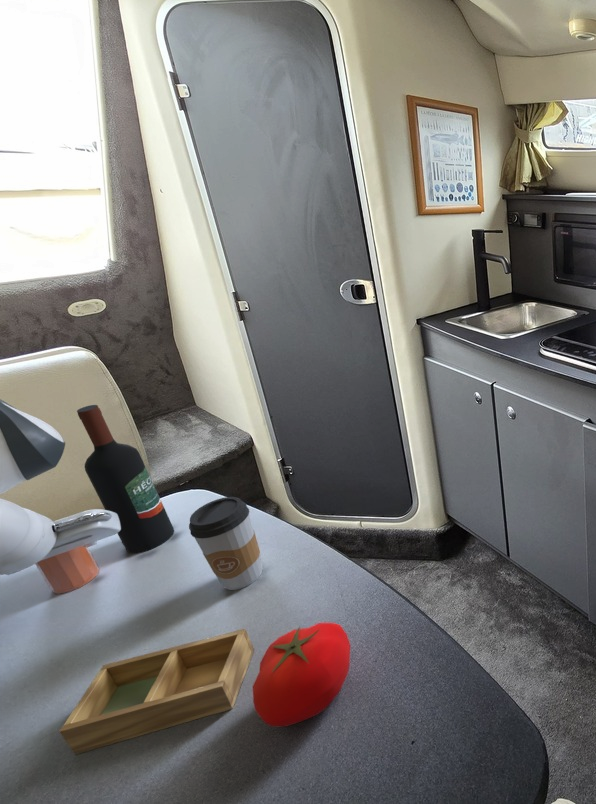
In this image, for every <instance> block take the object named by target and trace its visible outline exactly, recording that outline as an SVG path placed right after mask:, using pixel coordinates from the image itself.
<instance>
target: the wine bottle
mask: <svg viewBox="0 0 596 804" xmlns="http://www.w3.org/2000/svg"><path fill="white" fill-rule="evenodd" d="M76 413H77V416H78V418H79V420H80V421H81V424H82V425H83V427H84V429H85V431H86V433H87V435H88V437H89V439H90V441H91V443H92V445H93V451H92V452H91V453H90V455H89V456H88V457H87V458H86V460H85V463H84V471H85V472H86V475H87V477H88V479H89V481H90V483H91V485H92V486H93V489H94V490H95V493H96V494H97V497H98V498H99V500H100V502H101V505H102V506H103V509H104V510H108V511H112V512H114V513H116V514H117V515H118V517H119V521H120V526H121V530H120V531H119V532H118V533H117V534H116V535H117V536H118V537H119V540H120V541H121V544H122V545H123V548H124V549H125V551H126V552H127V553H129V554H140V553H144V552H147V551H150V550H152V549H155V548H157V547H159V546H161V545H163V544H164V543H166V542H167V541H168V540H170V539H171V537H172V536H173V535H174V533H175V528H174V526H173V524H172V522H171V520H170V518H169V515H168V513H167V511H166V509H165V507H164V504H163V502H162V500H161V497H160V496H159V493H158V491H157V489H156V487H155V485H154V482H153V480H152V478H151V476H150V474H149V471H148V469H147V466H146V465H145V463H144V461H143V458H142V455H141V454H140V451H139V450H138V449H137V448H136V447H134V446H132V445H130V444H127V443H120V442H117V441H116V440H115V439H114V436H113V435H112V433H111V431H110V428H109V427H108V424H107V422H106V420H105V418H104V416H103V412H102V410H101V408H100V407H99V405H98V404H91V405H86V406H83V407H80V408H78V409H77V410H76Z"/></svg>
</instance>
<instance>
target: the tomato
mask: <svg viewBox="0 0 596 804" xmlns="http://www.w3.org/2000/svg"><path fill="white" fill-rule="evenodd" d="M351 647H352V646H351V642H350V640H349V637H348V634H347V632H345V630H344V628H343V627H342V625H341V624H339V623H336V622H318V623H316V624H314V625H312V626H309V627H305V628H301V626H300V625H299V626H298V628H296V629H295V628H294V629H293V630H290V631H289V632H286V633H285V634H282V635H281V636H279V637H278V638H277V639H275V640H274V641H273V642H272V643H271V644H270V645H268V647H267V649H266V650H265V653H264V655H263V657H262V658H261V660H260V663H259V670H258V673H257V676H256V678H255V680H254V682H253V685H252V700H253V701H252V702H253V707H254V710H255V712H256V713H257V715H258V716H259V717H260V719H261V720H262V721H263V722H264V723H265V724H266V725H268V726H270V727H280V728H283V727H287V726H291V725H292V726H293V725H295V724H297V723H298V724H299V723H300V722H303V721H307V720H308V719H311V718H313V717H316V716H317V715H319V714H320V713H321V712H323V711H324V710H326V709H327V708H328V707H329V706H330V705H331V703H332V702H333V701H334V699H335V698H336V697H337V696H338V695H339V694H340V692H341V690H342V687H343V685H344V683H345V681H346V679H347V677H348V674H349V668H350V661H351V660H350V659H351V658H350V657H351Z"/></svg>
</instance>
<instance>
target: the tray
mask: <svg viewBox="0 0 596 804" xmlns="http://www.w3.org/2000/svg"><path fill="white" fill-rule="evenodd" d="M254 653H255V648H254V645H253V643H252V641H251V639H250V635H249V633H248V631H247V629H246V628H242V629H238V630H235V631H231V632H226V633H223V634H218V635H215V636H212V637H208V638H203V639H200V640H196V641H192V642H188V643H184V644H180V645H176V646H173V647H169V648H164V649H160V650H156V651H153V652H148V653H145V654H142V655H137V656H133V657H129V658H126V659H121V660H118V661H114V662H110V663H106V664H103V665H102V667H101V668H100V670H99V671H98V673H97V674H96V675H95V677H94V678H93V680H92V681H91V683H90V685H89V686H88V687H87V689H86V691H85V692H84V693H83V695H82V697H81V698H80V700H79V701H78V703H77V704H76V706H75V707H74V709H73V710H72V712H71V713H70V715H69V716H68V717H67V719H66V720H65V722H64V723H63V725H62V726H61V728H60V729H59V731H58V732H59V734H60V735H61V737H62V739H63V740H64V741H65V743H66V744H67V746H68V747H69V748H70V750H71V751H72V752H73V754H74V755H79V754H83V753H85V752H89V751H93V750H96V749H100V748H102V747H106V746H109V745H113V744H116V743H121V742H123V741H126V740H127V741H128V740H131V739H134V738H137V737H141V736H144V735H147V734H151V733H154V732H157V731H161V730H164V729H167V728H171V727H175V726H178V725H181V724H185V723H188V722H192V721H195V720H198V719H202V718H206V717H208V716H212V715H216V714H219V713H223V712H226V711H229V710H232V709H234V706H235V703H236V701H237V698H238V695H239V692H240V690H241V687H242V684H243V682H244V680H245V676H246V674H247V672H248V668H249V666H250V663H251V661H252V658H253V656H254Z"/></svg>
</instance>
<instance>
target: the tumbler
mask: <svg viewBox="0 0 596 804" xmlns="http://www.w3.org/2000/svg"><path fill="white" fill-rule="evenodd" d="M35 566H36V567H37V570H38V571H39V573H40V574H41V575H42V577H43V580H44V581H45V582H46V584H47V586H48V587H49V589H50V591H52V592H53V593H54V594H66V593H69V592H73V591H75V590H77V589H79V588H81V587H83V586H86V585H88V584H89V583H90V582H91V581H92V580H94V579H95V578H96V577H97V576H98V575H99V573H100V568H99V565H98V563H97V561H96V560H95V558H94V555H93V554H92V552H91V550H90V549H89V547H87V548H85V547H83V546H81V547H78V548H75V549H72V550H70V551H67V552H64V553H61V554H58V555H55V556H53V557H50V558H47V559H44V560H41V561H39V562H37V563H36V564H35Z"/></svg>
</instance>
